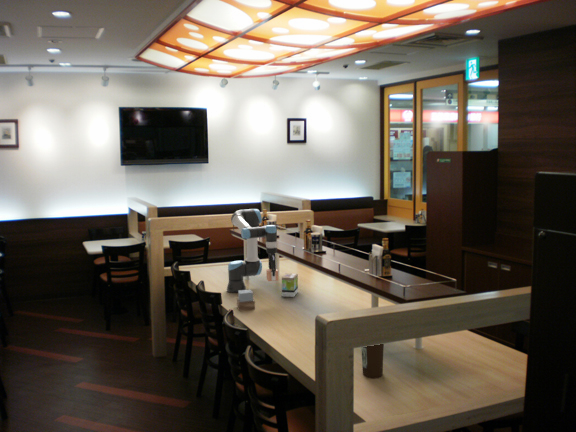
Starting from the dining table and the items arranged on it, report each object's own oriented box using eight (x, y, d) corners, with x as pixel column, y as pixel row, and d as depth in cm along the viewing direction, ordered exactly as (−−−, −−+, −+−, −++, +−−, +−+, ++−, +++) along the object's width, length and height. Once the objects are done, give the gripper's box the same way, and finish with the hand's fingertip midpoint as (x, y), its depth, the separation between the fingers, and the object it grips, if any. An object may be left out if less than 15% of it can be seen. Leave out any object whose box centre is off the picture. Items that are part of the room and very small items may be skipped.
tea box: (294, 297, 387) (294, 277, 385) (281, 296, 389) (281, 277, 387) (298, 291, 401) (297, 273, 400) (285, 291, 403) (285, 273, 402)
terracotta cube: (266, 278, 368) (266, 269, 367) (276, 278, 369) (276, 268, 368) (268, 281, 361) (268, 271, 360) (278, 280, 362) (278, 270, 362)
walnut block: (237, 306, 366) (236, 298, 366) (252, 305, 369) (252, 297, 368) (239, 311, 356) (238, 302, 355) (254, 309, 358) (254, 301, 358)
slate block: (238, 298, 365) (238, 290, 364) (251, 297, 367) (250, 289, 366) (240, 302, 356) (239, 293, 355) (253, 300, 358) (252, 292, 358)
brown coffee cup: (380, 368, 251) (379, 319, 249) (386, 378, 241) (386, 326, 238) (358, 370, 250) (358, 320, 247) (364, 379, 240) (364, 327, 237)
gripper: (263, 245, 371) (264, 276, 374) (269, 250, 352) (270, 282, 355) (274, 244, 373) (274, 275, 375) (279, 249, 353) (280, 282, 356)
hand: (272, 279), depth 365 cm, fingers closed on terracotta cube, 7 cm apart
